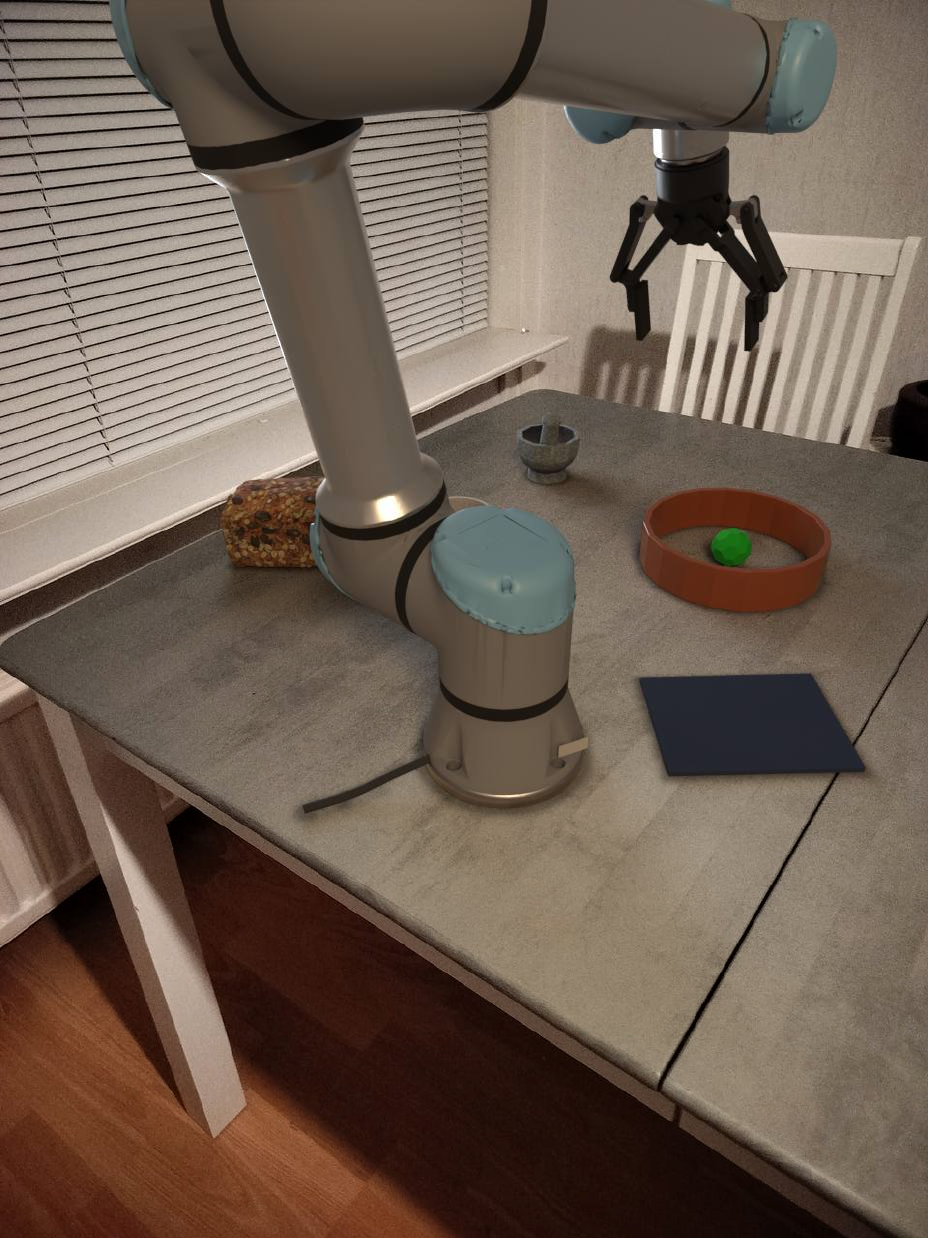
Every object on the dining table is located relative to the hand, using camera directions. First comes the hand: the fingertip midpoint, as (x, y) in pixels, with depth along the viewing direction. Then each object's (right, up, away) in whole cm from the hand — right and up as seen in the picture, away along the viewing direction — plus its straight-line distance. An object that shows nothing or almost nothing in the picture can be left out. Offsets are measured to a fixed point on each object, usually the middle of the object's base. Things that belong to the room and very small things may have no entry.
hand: (695, 340), depth 100 cm
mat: (0, -44, -18) cm, 48 cm away
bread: (-50, -25, +12) cm, 57 cm away
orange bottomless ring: (+6, -27, +7) cm, 28 cm away
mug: (-29, -30, +3) cm, 42 cm away
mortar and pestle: (-15, -12, +31) cm, 36 cm away
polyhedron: (+6, -27, +7) cm, 28 cm away
